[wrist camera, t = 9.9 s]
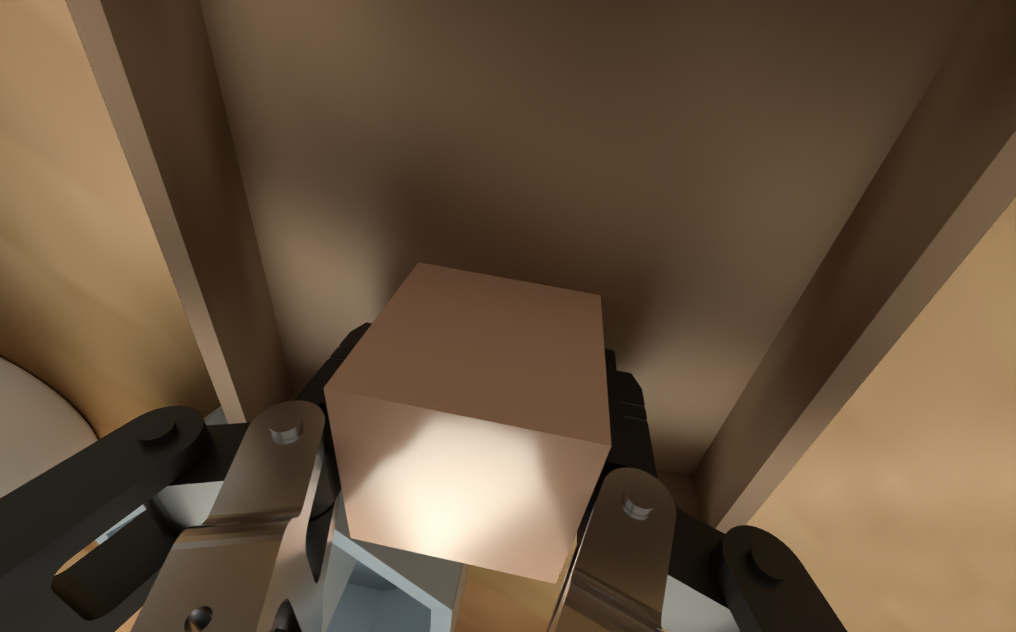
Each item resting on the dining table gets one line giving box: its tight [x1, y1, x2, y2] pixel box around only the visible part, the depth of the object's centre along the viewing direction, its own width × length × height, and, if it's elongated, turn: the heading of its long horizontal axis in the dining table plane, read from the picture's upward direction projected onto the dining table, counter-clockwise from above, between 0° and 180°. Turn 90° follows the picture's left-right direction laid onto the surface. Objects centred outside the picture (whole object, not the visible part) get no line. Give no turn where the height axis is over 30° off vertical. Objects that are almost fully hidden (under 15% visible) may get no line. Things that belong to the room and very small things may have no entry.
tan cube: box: [324, 262, 611, 584], centre depth 9 cm, size 4×4×4 cm
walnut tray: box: [65, 0, 1016, 534], centre depth 9 cm, size 14×14×3 cm
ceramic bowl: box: [96, 406, 468, 632], centre depth 17 cm, size 13×13×4 cm
